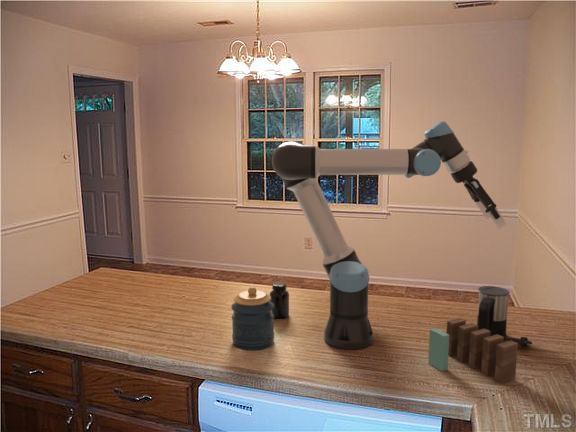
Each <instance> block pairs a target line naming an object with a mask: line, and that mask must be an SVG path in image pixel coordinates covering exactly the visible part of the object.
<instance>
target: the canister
mask: <svg viewBox="0 0 576 432" xmlns="http://www.w3.org/2000/svg"><path fill="white" fill-rule="evenodd" d="M270 300H271V296H270V294H268V293H267V292H266V291H263V290H258V289H257V288H256V287H254V286H249V288H248V289H247V290H243V291H241V292H239V293H238V294H236V295H235V296H234V298H233V303H232V304H231V307H230V308H231V310H232V315H231V321H232V322H231V323H232V326H231V327H232V336H231V337H232V339H231V340H232V343H233V345H234V346H235V347H236V348H238V349H241V350H245V351H259V350H263V349H267V348H269V347H270V346H272V344H273V343H274V341H275V332H274V331H275V329H274V328H275V326H274V323H275V322H274V320H275V319H274V314H273V312H272V309H273V307H274V304H273V302H271V301H270Z"/></svg>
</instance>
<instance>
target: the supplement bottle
mask: <svg viewBox="0 0 576 432" xmlns="http://www.w3.org/2000/svg"><path fill="white" fill-rule="evenodd" d="M271 289H272V290H271V291H270V292H269V295H270V296H271V300H270V301H271V302H273V304H274V307H273V309H272V312H273V314H274V320H276V319H282V320H286V319H288V318H289V316H290V293H289V291H288V290H287V283H286V282H284V281H276V282H273V283H272V287H271ZM287 317H288V318H287ZM285 318H286V319H285Z"/></svg>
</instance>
